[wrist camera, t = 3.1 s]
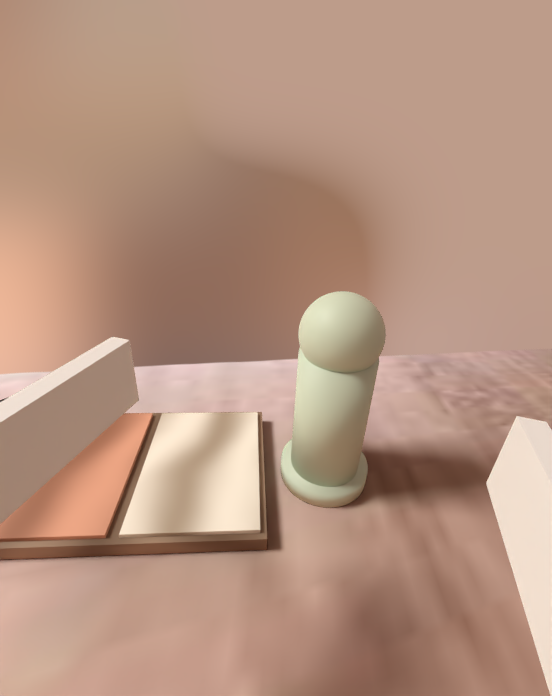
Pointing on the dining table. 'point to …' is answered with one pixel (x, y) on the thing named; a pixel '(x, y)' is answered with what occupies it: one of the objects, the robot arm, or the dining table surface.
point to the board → (151, 491)
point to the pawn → (333, 399)
